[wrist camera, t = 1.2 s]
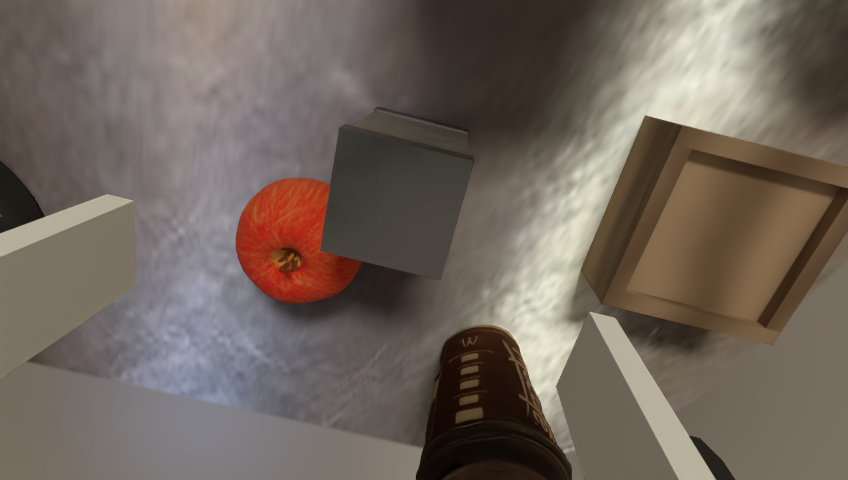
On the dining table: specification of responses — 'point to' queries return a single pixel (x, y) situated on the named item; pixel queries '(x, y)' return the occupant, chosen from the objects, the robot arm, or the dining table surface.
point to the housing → (397, 191)
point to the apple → (291, 243)
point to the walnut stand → (716, 231)
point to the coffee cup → (487, 415)
